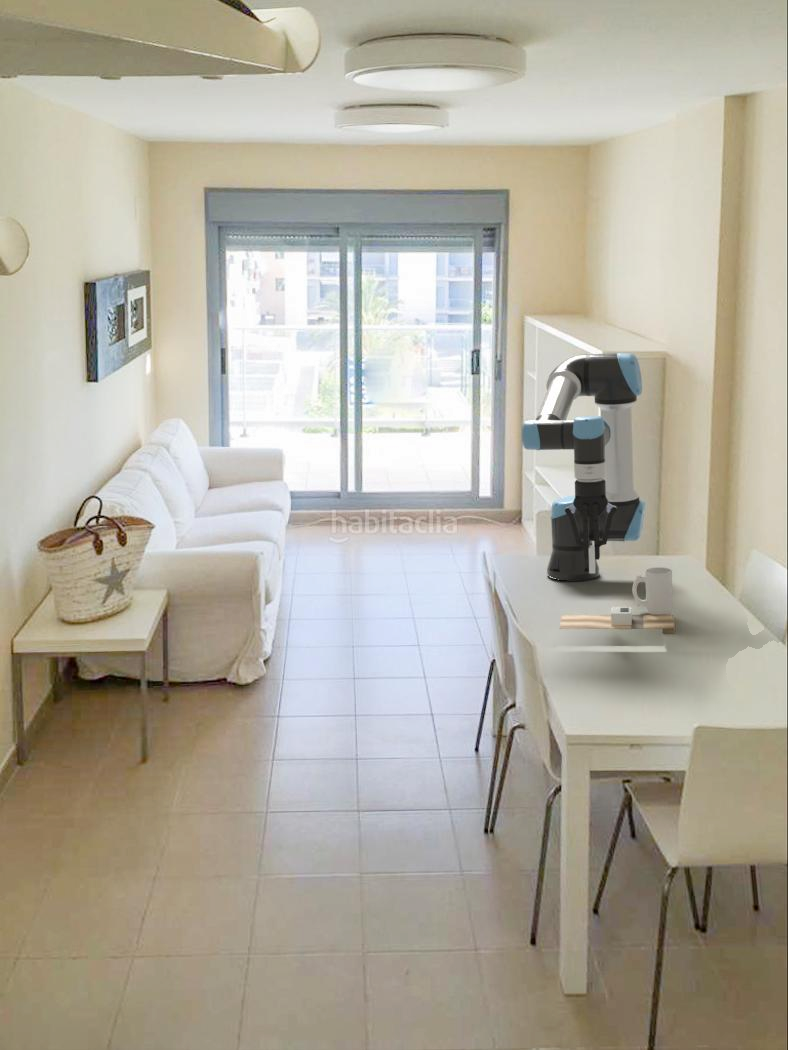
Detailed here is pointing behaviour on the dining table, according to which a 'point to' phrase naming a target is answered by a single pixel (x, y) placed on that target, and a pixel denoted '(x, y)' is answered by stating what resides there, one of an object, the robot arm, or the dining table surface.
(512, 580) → the dining table surface
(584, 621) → the board
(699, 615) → the dining table surface
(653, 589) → the mug
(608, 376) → the robot arm
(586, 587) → the dining table surface
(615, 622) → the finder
